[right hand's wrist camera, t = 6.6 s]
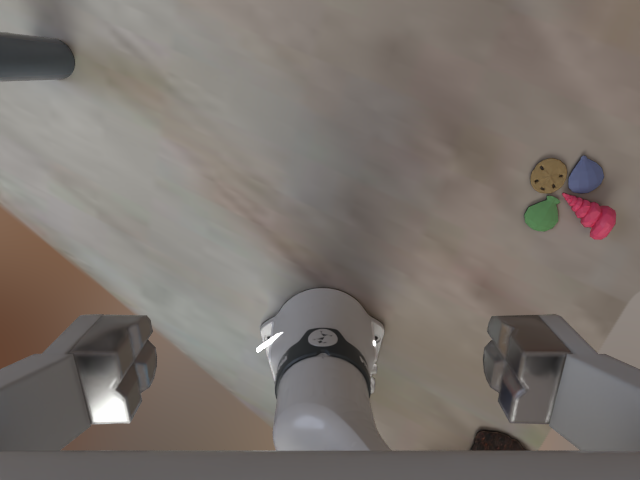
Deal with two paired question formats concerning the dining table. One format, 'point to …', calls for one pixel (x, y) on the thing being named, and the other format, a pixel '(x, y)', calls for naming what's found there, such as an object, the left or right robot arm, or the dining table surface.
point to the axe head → (495, 442)
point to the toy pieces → (569, 197)
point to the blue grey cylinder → (33, 58)
